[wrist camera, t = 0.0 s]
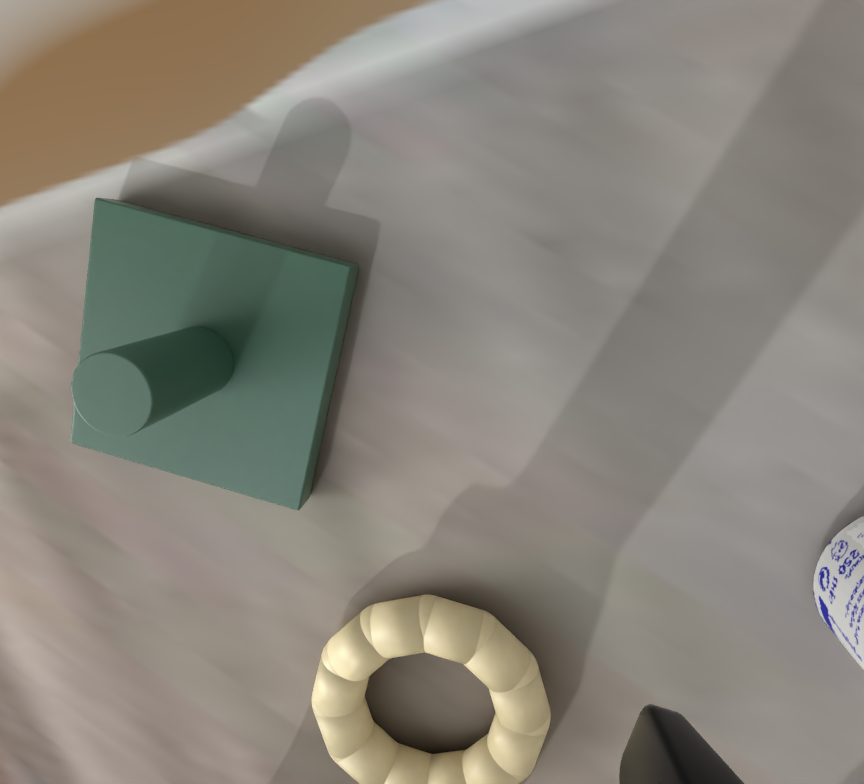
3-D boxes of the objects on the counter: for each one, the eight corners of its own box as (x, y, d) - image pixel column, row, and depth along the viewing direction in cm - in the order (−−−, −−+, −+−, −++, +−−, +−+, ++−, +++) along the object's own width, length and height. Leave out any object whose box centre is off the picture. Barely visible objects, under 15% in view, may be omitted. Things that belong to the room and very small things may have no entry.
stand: (309, 498, 24) (240, 584, 18) (90, 433, 24) (-48, 496, 18) (360, 264, 22) (299, 274, 16) (116, 199, 22) (-33, 184, 16)
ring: (510, 808, 26) (509, 853, 24) (304, 742, 27) (287, 781, 25) (575, 626, 24) (581, 661, 22) (348, 558, 24) (334, 586, 22)
